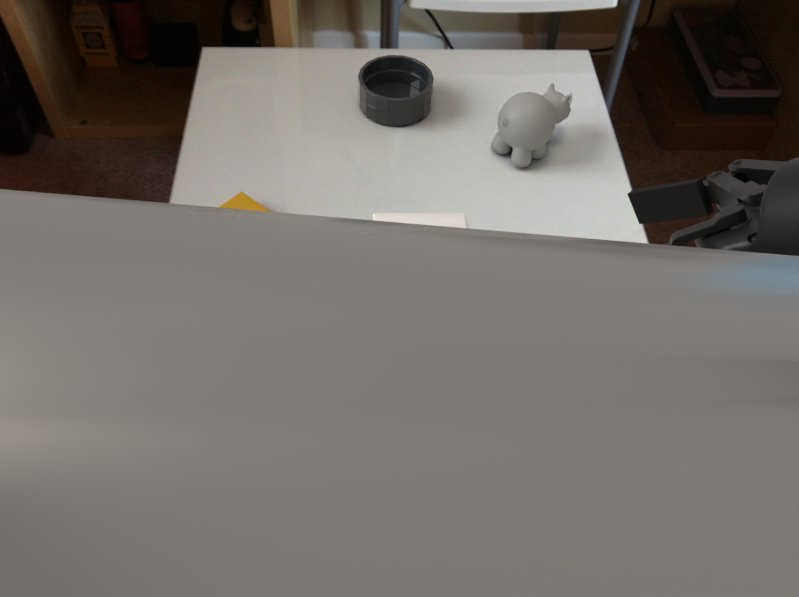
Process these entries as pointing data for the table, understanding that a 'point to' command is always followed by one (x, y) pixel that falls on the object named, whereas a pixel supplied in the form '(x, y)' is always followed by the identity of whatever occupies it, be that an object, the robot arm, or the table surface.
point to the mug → (424, 218)
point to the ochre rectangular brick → (243, 203)
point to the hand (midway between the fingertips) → (579, 246)
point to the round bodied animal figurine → (529, 124)
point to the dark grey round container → (395, 90)
